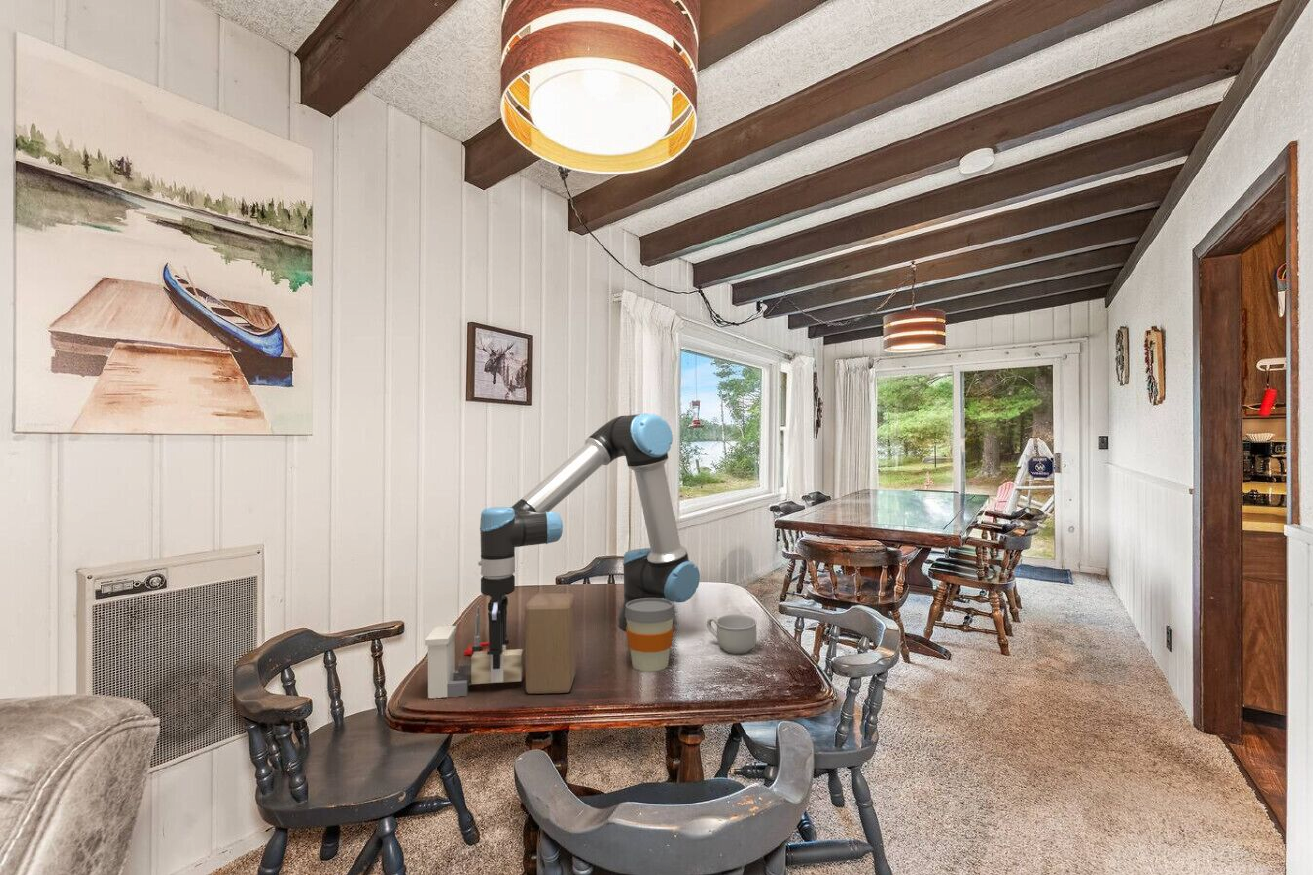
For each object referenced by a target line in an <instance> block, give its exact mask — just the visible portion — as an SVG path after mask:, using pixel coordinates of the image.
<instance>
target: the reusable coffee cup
mask: <svg viewBox="0 0 1313 875" xmlns="http://www.w3.org/2000/svg"><path fill="white" fill-rule="evenodd" d="M675 615H676V612H675V605H674V601H669V600H667V599H664V598H662V599H660V598H642V599H636V600H632V601H630V602H628V603H627V604H626V609H625V618H626V619H627V627H626V630H625V631H626V636H627V644H628V647H629V648H630V653H631V654H630V655H631V662H632V667H633V668H634V669H635V670H637V671H641V672H646V673H647V672H648V673H651V672H654V673H655V672H659V671H662V670H665V669H666V668H668V666H669V662H670V661H669V660H670V651H671V648H672V645H673V638H674V629H675V626H674V623H673V622H674V618H675Z"/></svg>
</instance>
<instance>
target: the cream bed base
mask: <svg viewBox="0 0 1313 875" xmlns="http://www.w3.org/2000/svg"><path fill="white" fill-rule="evenodd" d="M457 627H458V626H457V625H446V626H435V627H434V628H433V629H432V631H431V632H430V633H429V635H428V636H427V637H426V638H425V640H424V646H427V699H428V698H436V697H437V698H441V697H453V696H466V695H467V696H468V694H467V693H468V692H469V691H468V688H469V687H468V686H470V685H469V684H471V683H467V680H462V681H458V670H456V669H455V668H456V667H455V666H456V661H455V660H456V659H455V658H456V656H455V655H456V654H455V650H456V649H455V647H456V645H455V642H456V641H455V634H456V632H457ZM467 696H466V697H467Z"/></svg>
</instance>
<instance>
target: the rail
mask: <svg viewBox="0 0 1313 875" xmlns="http://www.w3.org/2000/svg"><path fill="white" fill-rule="evenodd" d="M487 652H488V651H484V650H482V651H476V652H474V653H473V655H472V656H471V657H470V658H471V660H470V661H459V663H458V665H457V671H458V681H462V680H467V683H471V684H472V685H480V684H481V685H482V684H484V685H485V684H492V683H491V654H490V655H487ZM503 669H504V681H503V682H497V683H498V684H500V683H513V682H514V683H515V682H523V681H522V680H523V677H524V673H523V672H524V649H523V648H517V649H506V650H503Z"/></svg>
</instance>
